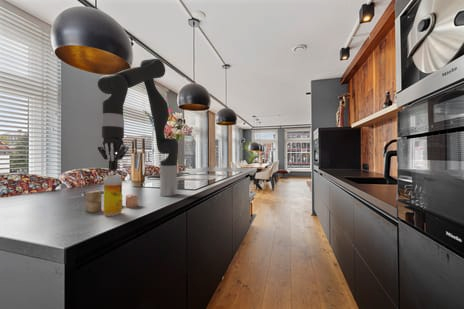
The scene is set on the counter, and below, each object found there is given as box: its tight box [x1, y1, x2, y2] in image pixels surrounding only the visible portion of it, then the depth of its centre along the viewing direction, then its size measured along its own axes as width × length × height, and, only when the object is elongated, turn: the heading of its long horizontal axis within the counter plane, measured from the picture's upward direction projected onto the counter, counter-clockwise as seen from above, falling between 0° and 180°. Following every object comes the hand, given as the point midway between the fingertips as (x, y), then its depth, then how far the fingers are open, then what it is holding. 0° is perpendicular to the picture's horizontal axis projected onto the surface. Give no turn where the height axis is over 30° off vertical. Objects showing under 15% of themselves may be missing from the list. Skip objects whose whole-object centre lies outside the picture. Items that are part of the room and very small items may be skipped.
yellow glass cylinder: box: [103, 174, 123, 217], centre depth 80 cm, size 6×6×15 cm
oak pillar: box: [84, 190, 103, 213], centre depth 85 cm, size 4×4×8 cm
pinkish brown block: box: [125, 193, 139, 209], centre depth 93 cm, size 5×5×5 cm
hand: (113, 170), depth 80 cm, fingers closed
